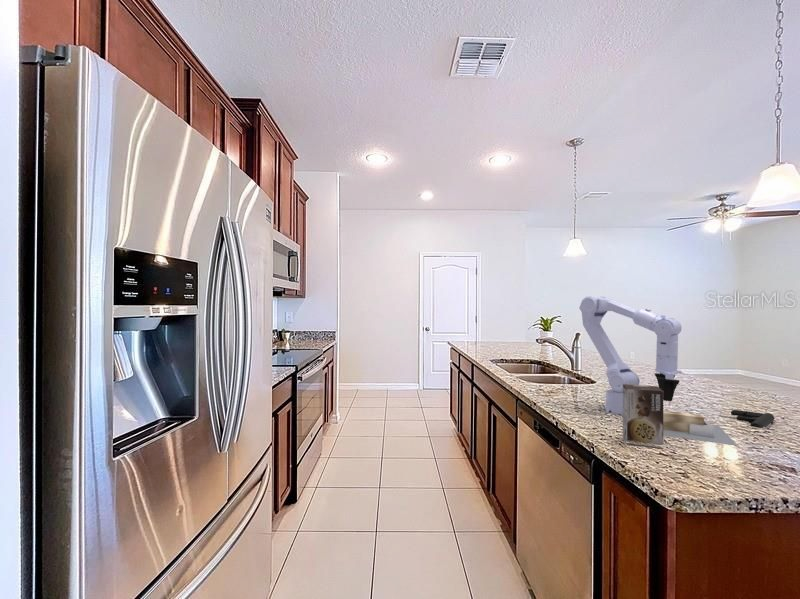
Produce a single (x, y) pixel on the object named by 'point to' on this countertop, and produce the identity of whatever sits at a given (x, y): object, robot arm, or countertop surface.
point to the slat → (680, 421)
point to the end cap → (701, 429)
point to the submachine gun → (753, 418)
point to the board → (718, 436)
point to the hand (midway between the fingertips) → (665, 398)
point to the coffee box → (643, 414)
